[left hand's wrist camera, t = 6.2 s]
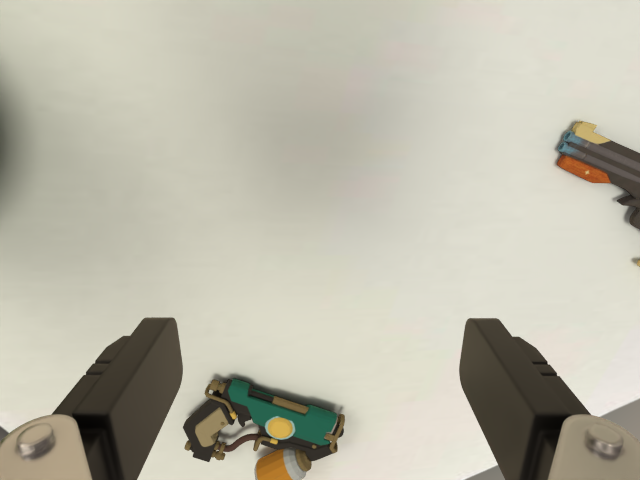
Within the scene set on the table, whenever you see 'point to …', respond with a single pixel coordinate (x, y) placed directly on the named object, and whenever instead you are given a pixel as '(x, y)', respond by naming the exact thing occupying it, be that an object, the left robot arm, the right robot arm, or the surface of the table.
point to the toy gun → (602, 163)
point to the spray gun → (264, 429)
